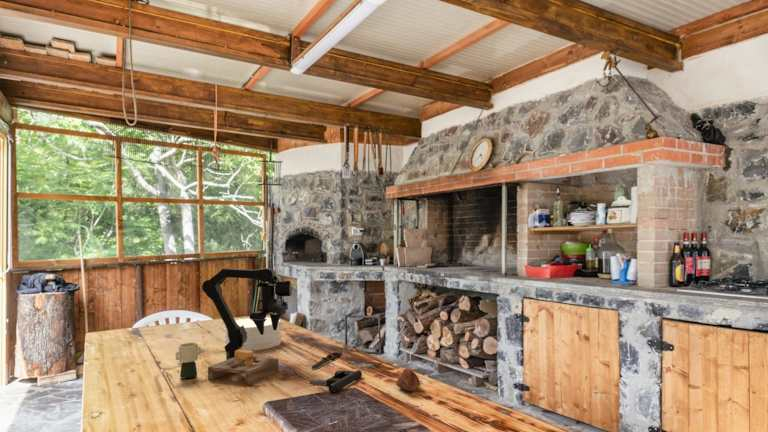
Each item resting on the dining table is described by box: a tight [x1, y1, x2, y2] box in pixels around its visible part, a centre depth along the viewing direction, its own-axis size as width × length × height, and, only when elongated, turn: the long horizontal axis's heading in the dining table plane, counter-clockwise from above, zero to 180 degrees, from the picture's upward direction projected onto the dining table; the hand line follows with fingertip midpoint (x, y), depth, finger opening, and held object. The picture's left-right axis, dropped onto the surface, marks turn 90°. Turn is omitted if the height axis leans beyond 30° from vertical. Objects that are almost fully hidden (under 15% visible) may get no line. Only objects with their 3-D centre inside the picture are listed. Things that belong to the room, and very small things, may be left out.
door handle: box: [309, 370, 363, 393], centre depth 172 cm, size 3×20×16 cm
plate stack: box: [224, 317, 282, 351], centre depth 240 cm, size 28×28×12 cm
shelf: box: [207, 353, 279, 385], centre depth 185 cm, size 20×18×7 cm
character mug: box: [175, 342, 202, 379], centre depth 185 cm, size 11×7×13 cm, turn 147°
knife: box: [310, 351, 343, 371], centre depth 202 cm, size 26×7×1 cm, turn 156°
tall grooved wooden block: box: [234, 349, 255, 367], centre depth 185 cm, size 7×3×6 cm, turn 68°
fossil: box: [395, 368, 421, 392], centre depth 163 cm, size 13×8×10 cm
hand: (268, 332), depth 204 cm, fingers open, 9 cm apart
